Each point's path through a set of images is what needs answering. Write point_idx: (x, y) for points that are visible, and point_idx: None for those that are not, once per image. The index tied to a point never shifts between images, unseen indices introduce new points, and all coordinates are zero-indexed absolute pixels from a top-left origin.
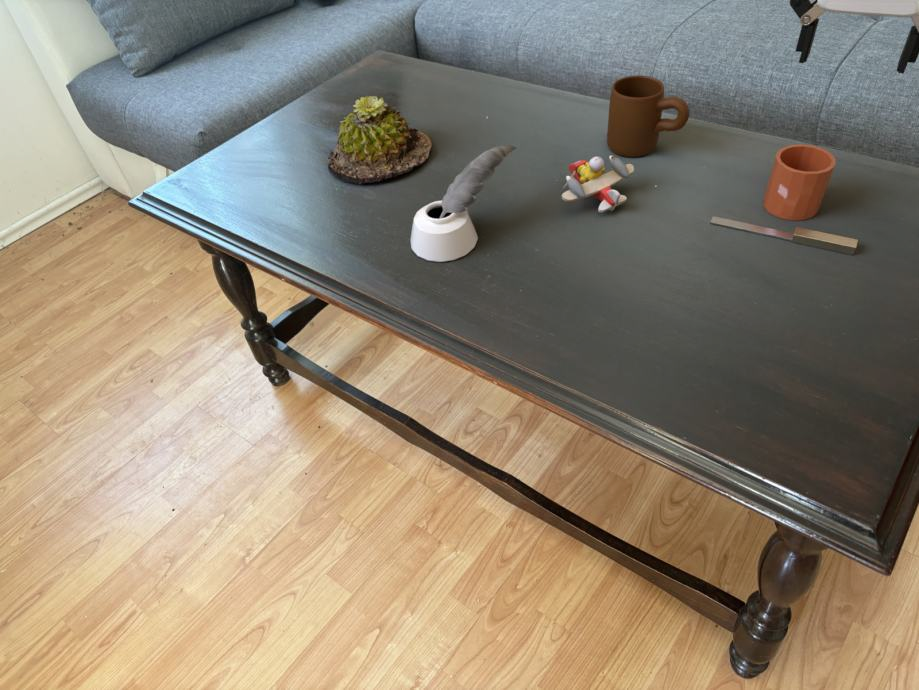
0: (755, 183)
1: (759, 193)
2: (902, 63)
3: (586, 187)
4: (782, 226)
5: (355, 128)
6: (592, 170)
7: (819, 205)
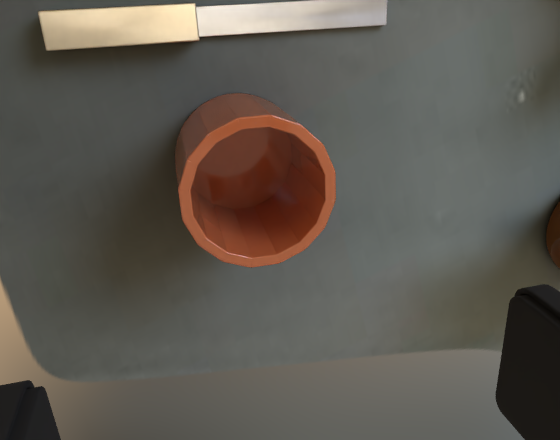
0: None
1: None
2: (9, 422)
3: None
4: (230, 63)
5: None
6: None
7: (176, 151)
